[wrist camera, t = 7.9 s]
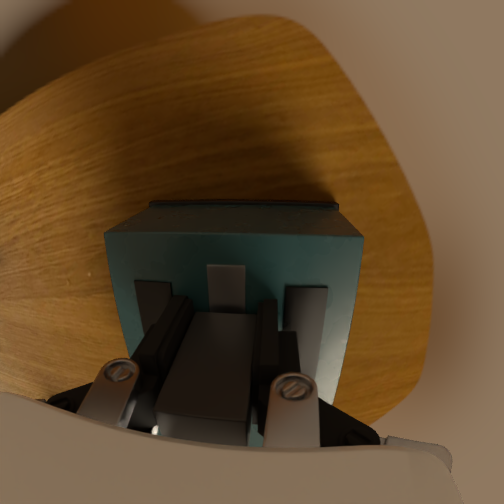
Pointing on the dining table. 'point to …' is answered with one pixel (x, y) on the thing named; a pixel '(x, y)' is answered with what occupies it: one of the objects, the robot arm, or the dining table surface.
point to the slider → (210, 382)
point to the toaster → (243, 271)
